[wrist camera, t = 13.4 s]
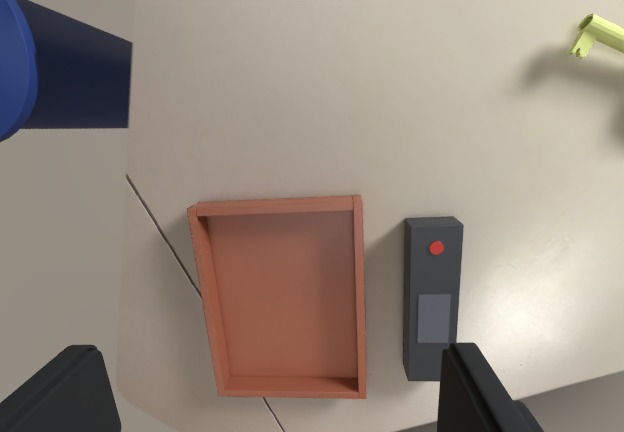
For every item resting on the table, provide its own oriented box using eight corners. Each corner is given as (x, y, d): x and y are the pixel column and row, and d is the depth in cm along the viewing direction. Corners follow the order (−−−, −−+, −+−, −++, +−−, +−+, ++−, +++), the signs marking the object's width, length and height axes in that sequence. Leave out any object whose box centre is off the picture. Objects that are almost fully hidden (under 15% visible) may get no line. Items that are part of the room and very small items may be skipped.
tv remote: (402, 362, 34) (408, 382, 32) (404, 218, 30) (410, 226, 27) (445, 363, 34) (454, 383, 31) (453, 216, 30) (464, 225, 27)
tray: (226, 378, 37) (218, 396, 34) (198, 202, 31) (186, 208, 29) (364, 379, 35) (366, 399, 33) (360, 195, 30) (362, 201, 27)
